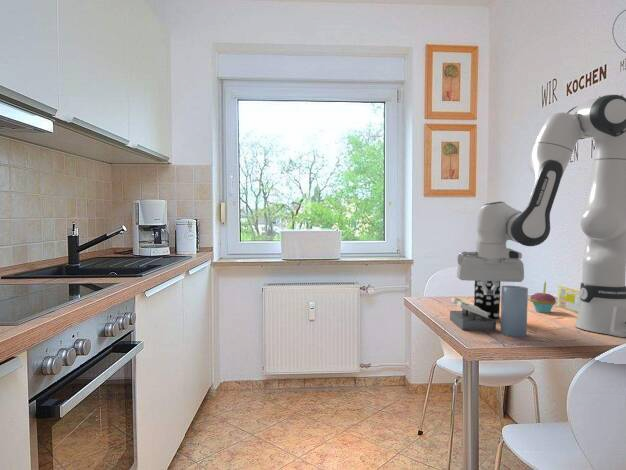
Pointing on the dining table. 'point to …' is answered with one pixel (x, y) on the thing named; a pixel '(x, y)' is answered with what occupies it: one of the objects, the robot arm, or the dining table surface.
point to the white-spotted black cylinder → (487, 299)
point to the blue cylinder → (514, 311)
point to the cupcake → (543, 301)
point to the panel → (472, 321)
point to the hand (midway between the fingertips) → (489, 294)
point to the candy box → (569, 299)
